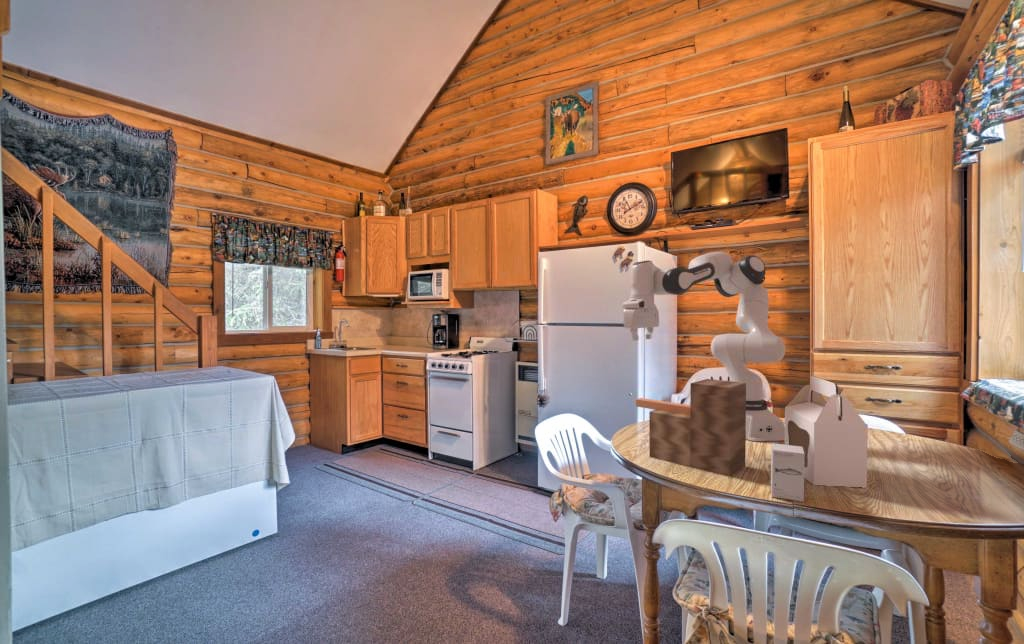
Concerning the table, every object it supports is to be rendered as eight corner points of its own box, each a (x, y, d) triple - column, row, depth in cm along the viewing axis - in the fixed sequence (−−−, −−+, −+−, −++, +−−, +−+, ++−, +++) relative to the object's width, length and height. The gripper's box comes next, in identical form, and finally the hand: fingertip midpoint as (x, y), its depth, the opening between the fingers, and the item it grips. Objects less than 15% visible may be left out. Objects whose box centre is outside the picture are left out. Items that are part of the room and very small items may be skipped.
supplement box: (771, 497, 123) (771, 449, 123) (770, 488, 130) (771, 442, 129) (804, 503, 120) (805, 453, 119) (802, 492, 126) (802, 445, 126)
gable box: (867, 489, 128) (869, 386, 128) (813, 486, 131) (815, 384, 130) (829, 462, 150) (830, 374, 149) (784, 460, 153) (784, 373, 152)
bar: (696, 413, 153) (696, 406, 153) (691, 415, 151) (691, 407, 151) (641, 405, 168) (641, 397, 168) (635, 406, 165) (635, 399, 165)
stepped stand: (745, 466, 147) (745, 382, 146) (729, 476, 139) (730, 387, 138) (667, 449, 166) (667, 374, 165) (649, 456, 157) (649, 378, 157)
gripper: (648, 303, 190) (648, 338, 190) (620, 303, 176) (620, 340, 176) (663, 303, 186) (663, 338, 186) (635, 303, 171) (635, 341, 172)
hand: (642, 339), depth 181 cm, fingers open, 8 cm apart
